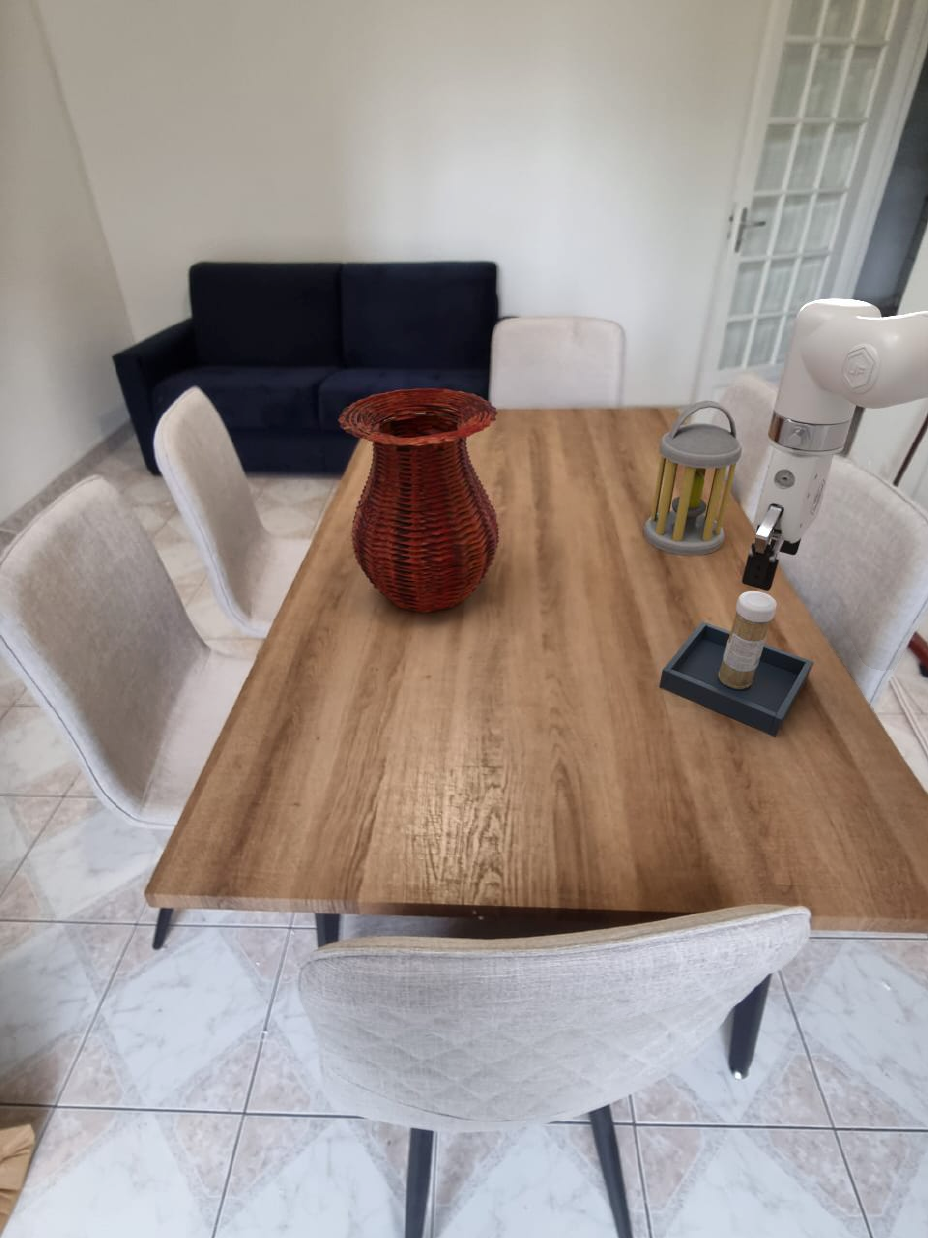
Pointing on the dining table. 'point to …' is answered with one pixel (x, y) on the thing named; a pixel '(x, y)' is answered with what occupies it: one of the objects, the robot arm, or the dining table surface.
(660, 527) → the lantern
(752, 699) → the tray
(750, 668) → the sprinkles bottle
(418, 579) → the vase
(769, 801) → the dining table surface
